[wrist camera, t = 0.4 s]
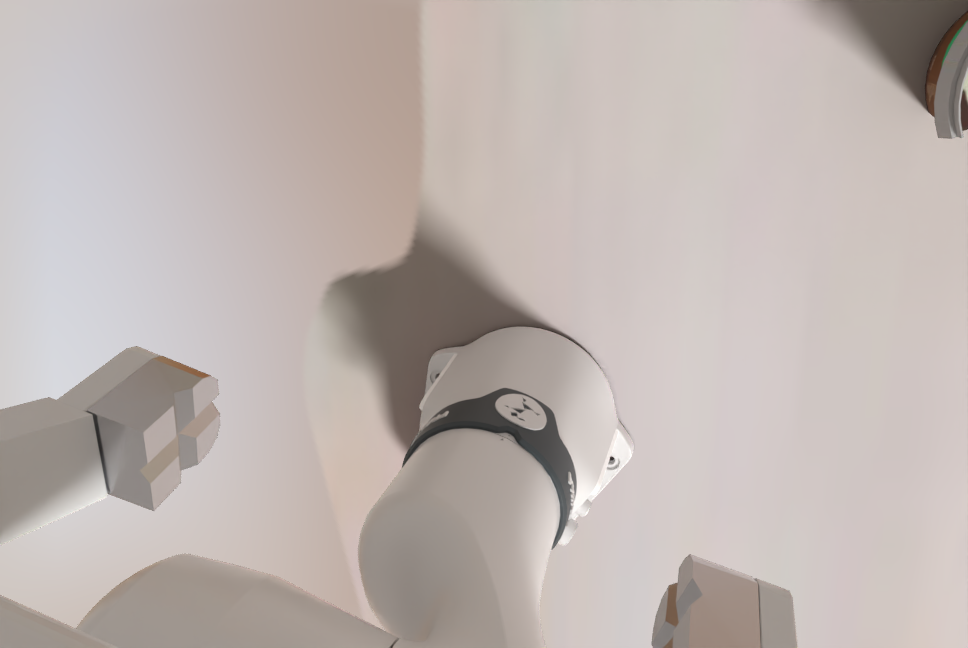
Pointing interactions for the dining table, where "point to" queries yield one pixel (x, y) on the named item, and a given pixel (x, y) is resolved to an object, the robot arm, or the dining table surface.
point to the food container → (949, 82)
